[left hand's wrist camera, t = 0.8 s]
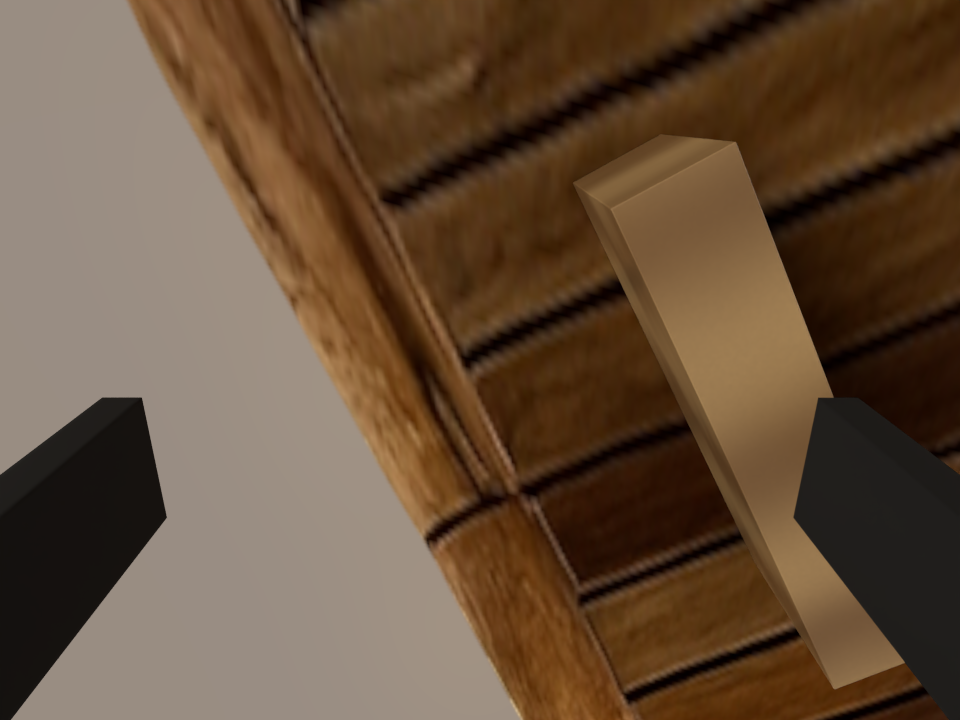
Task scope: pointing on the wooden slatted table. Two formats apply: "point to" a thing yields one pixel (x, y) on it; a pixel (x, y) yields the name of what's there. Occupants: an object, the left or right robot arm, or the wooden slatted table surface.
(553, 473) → the wooden slatted table surface
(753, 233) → the bar
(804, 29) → the wooden slatted table surface
